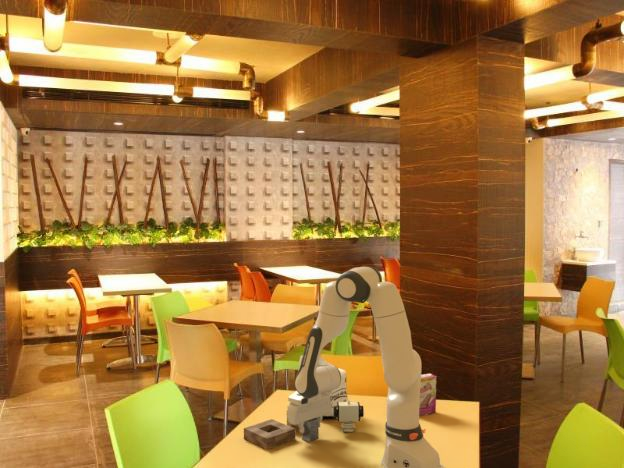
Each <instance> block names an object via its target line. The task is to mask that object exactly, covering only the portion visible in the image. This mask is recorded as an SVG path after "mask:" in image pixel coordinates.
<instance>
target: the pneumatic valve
mask: <svg viewBox="0 0 624 468" xmlns="http://www.w3.org/2000/svg"><path fill="white" fill-rule="evenodd" d="M364 415H365V411H364V405H361V404H360V401H350V400H349V401H347V402H337V404H336V406H333V416H334V417H333V418H336V419H337V420H336V421H337V422H342V423H341V430H342V431H343V432H344V433H353V432H354V431H355V430H356V423H354V422H361V419H362V418H364Z"/></svg>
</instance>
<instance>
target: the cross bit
mask: <svg viewBox="0 0 624 468" xmlns="http://www.w3.org/2000/svg"><path fill="white" fill-rule="evenodd" d="M287 414H288V409H287V410H286V415H287ZM286 425H288V426H290V427H292V428H295V431H299V432H300V427H299V426H298V424H297V425H293V424H291V423H289V422H288V418H287V417H286Z"/></svg>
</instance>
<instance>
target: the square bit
mask: <svg viewBox="0 0 624 468" xmlns="http://www.w3.org/2000/svg"><path fill="white" fill-rule="evenodd" d="M303 427H304V428H306V432H305V433H301V439H302V440H303V441H306V442H308V443H312V442H316V441H318V440H319V438H320V437H319V428H320V427H319V419H318V418H314V419H311V420H308V421H305V422H304V425H303Z"/></svg>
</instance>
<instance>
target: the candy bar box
mask: <svg viewBox="0 0 624 468" xmlns="http://www.w3.org/2000/svg"><path fill="white" fill-rule="evenodd" d="M437 377H438V376H437V375H435V374H433V373H424V374H421V386H420V399H419V417H420V415H421V416H425V415H426V414H427V415H432V414H431V413H433V414H436V409H437V408H436V406H437Z"/></svg>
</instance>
